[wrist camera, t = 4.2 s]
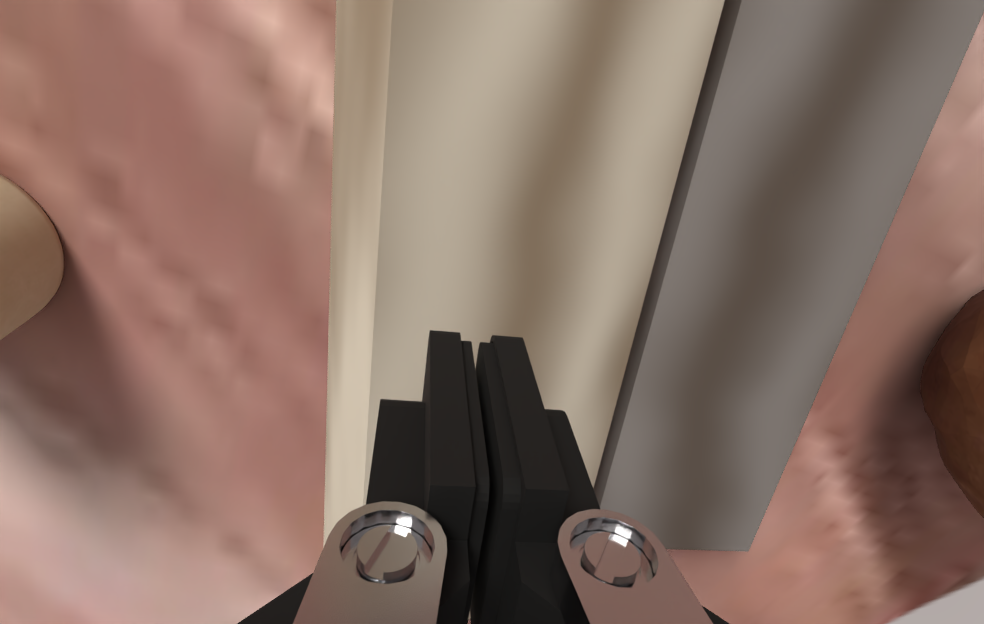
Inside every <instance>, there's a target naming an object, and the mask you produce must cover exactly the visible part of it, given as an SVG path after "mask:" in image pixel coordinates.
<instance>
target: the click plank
mask: <svg viewBox="0 0 984 624" xmlns="http://www.w3.org/2000/svg"><path fill="white" fill-rule="evenodd" d="M724 1H725V0H336V34H335V77H334V120H333V163H332V206H331V248H330V291H329V334H328V377H327V420H326V463H325V506H324V546H325V543H326V541H327V538H328V536H329V534H330V532H331V531H332V529H333V528H334V526H335V525H336V523H337V522H338V521H339V520H340V519H342V518H343V517H344V516H345V515H346V514H348V513H349V512H350V511H352V510H355V509H357V508H359V507H361V506H363V505H366V500H367V493H368V485H369V478H370V471H371V463H372V456H373V449H374V441H375V434H376V427H377V419H378V412H379V405H380V399H390V400H406V401H422V397H423V387H424V377H425V368H426V358H427V348H428V339H429V332H430V330H434V331H447V332H460V334H461V341H471V342H472V348H473V356H474V363H475V368H476V361H477V354H478V348H479V344H480V342H487V343H490V340H491V337H492V335H498V336H511V337H523V339H524V342H525V346H526V349H527V352H528V355H529V359H530V362H531V365H532V369H533V372H534V375H535V379H536V382H537V385H538V388H539V392H540V395H541V398H542V402H543V405H544V408H545V409H553V410H563V411H565V413H566V415H567V417H568V419H569V422H570V425H571V428H572V430H573V433H574V436H575V439H576V442H577V444H578V447H579V450H580V453H581V456H582V458H583V461H584V464H585V467H586V470H587V472H588V475H589V478H590V481H591V484H592V486H593V488H594V484H595V480H596V477H597V473H598V469H599V466H600V462H601V458H602V454H603V451H604V447H605V443H606V440H607V436H608V432H609V428H610V425H611V421H612V417H613V414H614V410H615V406H616V402H617V399H618V395H619V391H620V388H621V384H622V380H623V376H624V373H625V369H626V365H627V362H628V358H629V354H630V350H631V347H632V343H633V339H634V336H635V332H636V328H637V324H638V321H639V317H640V313H641V310H642V306H643V302H644V298H645V295H646V291H647V287H648V284H649V280H650V276H651V272H652V269H653V265H654V261H655V258H656V254H657V250H658V246H659V243H660V239H661V235H662V232H663V228H664V224H665V220H666V217H667V213H668V209H669V206H670V202H671V198H672V194H673V191H674V187H675V183H676V180H677V176H678V172H679V168H680V165H681V161H682V157H683V154H684V150H685V146H686V142H687V139H688V135H689V131H690V128H691V124H692V120H693V116H694V113H695V109H696V105H697V102H698V98H699V94H700V90H701V87H702V83H703V79H704V75H705V72H706V68H707V64H708V61H709V57H710V53H711V49H712V46H713V42H714V38H715V35H716V31H717V27H718V23H719V20H720V16H721V12H722V9H723V5H724ZM469 619H471V617H470V612H469V618H468V620H469Z"/></svg>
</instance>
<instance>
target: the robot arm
mask: <svg viewBox="0 0 984 624" xmlns="http://www.w3.org/2000/svg"><path fill="white" fill-rule="evenodd" d="M469 612H470V617H471V624H729V623H727V622H726V621H724V620H723V619H721V618H720V617H718V616H717V615H715V614H714V613H712V612H711V611H709V610H708V609H706V608H705V607H703V606H702V605H701V604H700V602H699V601H698V599H697V597H696V596H695V594H694V593H693V591H692V590H691V588H690V586H689V585H688V583H687V582H686V580H685V578H684V577H683V575H682V574H681V572H680V571H679V569H678V567H677V566H676V564H675V563H674V561H673V559H672V558H671V556H670V555H669V553H668V552H667V550H666V548H665V547H664V545H663V544H662V543H661V542H660V540H659V539H658V538H657V537H656V535H655V534H654V533H653V532H652V531H651V530H649V529H648V528H647V527H645V526H644V525H643V524H641V523H640V522H639V521H637V520H635V519H633V518H631V517H629V516H627V515H625V514H622V513H618V512H614V511H610V510H603V509H600V506H599V503H598V501H597V498H596V495H595V492H594V489H593V486H592V484H591V481H590V478H589V475H588V472H587V470H586V467H585V464H584V461H583V458H582V456H581V453H580V450H579V447H578V444H577V442H576V439H575V436H574V433H573V430H572V428H571V425H570V422H569V419H568V417H567V415H566V413H565V411H563V410H553V409H545V408H544V405H543V402H542V398H541V395H540V392H539V388H538V385H537V382H536V379H535V375H534V372H533V369H532V365H531V362H530V359H529V355H528V352H527V349H526V346H525V342H524V339H523V337H511V336H498V335H492V337H491V340H490V343H487V342H480V344H479V348H478V354H477V361H476V368H475V363H474V356H473V348H472V342H471V341H461V334H460V332H447V331H434V330H430V332H429V339H428V348H427V358H426V368H425V377H424V387H423V397H422V401H406V400H390V399H380V405H379V412H378V419H377V427H376V434H375V441H374V449H373V456H372V463H371V471H370V478H369V485H368V493H367V500H366V505H363V506H361V507H359V508H357V509H355V510H352V511H350V512H349V513H348V514H346V515H345V516H344V517H343V518H342V519H340V520H339V521H338V522H337V523H336V525H335V526H334V528H333V529H332V531H331V532H330V534H329V536H328V538H327V541H326V543H325V546H324V548H323V550H322V553H321V555H320V558H319V560H318V563H317V565H316V568H315V570H314V573H312V574H311V575H309V576H308V577H306V578H305V579H303V580H302V581H300V582H299V583H297V584H296V585H294V586H293V587H291V588H290V589H288V590H287V591H286V592H284V593H283V594H281V595H280V596H278V597H277V598H275V599H274V600H272V601H271V602H269V603H268V604H266V605H265V606H263V607H262V608H260V609H259V610H257V611H256V612H254V613H253V614H251V615H250V616H248V617H247V618H245V619H244V620H242V621H241V622H239V623H238V624H467V623H468V618H469Z"/></svg>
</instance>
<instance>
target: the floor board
mask: <svg viewBox="0 0 984 624" xmlns="http://www.w3.org/2000/svg"><path fill="white" fill-rule="evenodd" d="M983 12H984V0H725V1H724V5H723V9H722V12H721V16H720V20H719V23H718V27H717V31H716V35H715V38H714V42H713V46H712V49H711V53H710V57H709V61H708V64H707V68H706V72H705V75H704V79H703V83H702V87H701V90H700V94H699V98H698V102H697V105H696V109H695V113H694V116H693V120H692V124H691V128H690V131H689V135H688V139H687V142H686V146H685V150H684V154H683V157H682V161H681V165H680V168H679V172H678V176H677V180H676V183H675V187H674V191H673V194H672V198H671V202H670V206H669V209H668V213H667V217H666V220H665V224H664V228H663V232H662V235H661V239H660V243H659V246H658V250H657V254H656V258H655V261H654V265H653V269H652V272H651V276H650V280H649V284H648V287H647V291H646V295H645V298H644V302H643V306H642V310H641V313H640V317H639V321H638V324H637V328H636V332H635V336H634V339H633V343H632V347H631V350H630V354H629V358H628V362H627V365H626V369H625V373H624V376H623V380H622V384H621V388H620V391H619V395H618V399H617V402H616V406H615V410H614V414H613V417H612V421H611V425H610V428H609V432H608V436H607V440H606V443H605V447H604V451H603V454H602V458H601V462H600V466H599V469H598V473H597V477H596V480H595V484H594V488H593V489H594V492H595V495H596V498H597V501H598V503H599V506H600V509H603V510H610V511H614V512H618V513H622V514H625V515H627V516H629V517H631V518H633V519H635V520H637V521H639V522H640V523H641V524H643V525H644V526H645V527H647V528H648V529H649V530H651V531H652V532H653V533H654V534H655V535H656V537H657V538H658V539H659V540H660V542H661V543H662V544H663V545H664V547H665V548H666V549H685V550H718V551H749V549H750V546H751V544H752V542H753V539H754V537H755V535H756V533H757V530H758V528H759V526H760V523H761V521H762V519H763V517H764V514H765V512H766V510H767V507H768V505H769V503H770V501H771V498H772V496H773V494H774V491H775V489H776V487H777V484H778V482H779V480H780V478H781V475H782V473H783V471H784V468H785V466H786V464H787V462H788V459H789V457H790V455H791V452H792V450H793V448H794V445H795V443H796V441H797V439H798V436H799V434H800V432H801V429H802V427H803V425H804V423H805V420H806V418H807V416H808V413H809V411H810V409H811V407H812V404H813V402H814V400H815V397H816V395H817V393H818V390H819V388H820V386H821V384H822V381H823V379H824V377H825V374H826V372H827V370H828V368H829V365H830V363H831V361H832V358H833V356H834V354H835V352H836V349H837V347H838V345H839V342H840V340H841V338H842V335H843V333H844V331H845V329H846V326H847V324H848V322H849V319H850V317H851V315H852V313H853V310H854V308H855V306H856V303H857V301H858V299H859V296H860V294H861V292H862V290H863V287H864V285H865V283H866V280H867V278H868V276H869V274H870V271H871V269H872V267H873V264H874V262H875V260H876V258H877V255H878V253H879V251H880V248H881V246H882V244H883V241H884V239H885V237H886V235H887V232H888V230H889V228H890V225H891V223H892V221H893V219H894V216H895V214H896V212H897V209H898V207H899V205H900V202H901V200H902V198H903V196H904V193H905V191H906V189H907V186H908V184H909V182H910V180H911V177H912V175H913V173H914V170H915V168H916V166H917V164H918V161H919V159H920V157H921V154H922V152H923V150H924V147H925V145H926V143H927V141H928V138H929V136H930V134H931V131H932V129H933V127H934V125H935V122H936V120H937V118H938V115H939V113H940V111H941V109H942V106H943V104H944V102H945V99H946V97H947V95H948V92H949V90H950V88H951V86H952V83H953V81H954V79H955V76H956V74H957V72H958V70H959V67H960V65H961V63H962V60H963V58H964V56H965V53H966V51H967V49H968V47H969V44H970V42H971V40H972V37H973V35H974V33H975V31H976V28H977V26H978V24H979V21H980V19H981V17H982V15H983Z"/></svg>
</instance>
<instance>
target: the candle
mask: <svg viewBox="0 0 984 624" xmlns="http://www.w3.org/2000/svg"><path fill="white" fill-rule="evenodd" d="M63 271H64V256H63V250H62V246H61V243H60V240H59V237H58V234H57V232H56V230H55V228H54V226H53V224H52V223H51V221H50V219H49V218H48V216H47V215H46V213H45V212H44V211H43V210H42V208H41V207H40V206H39V205H38V204H37V203H36V202H35V201H34V200H33V199H32V198H31V196H30V195H28V194H27V193H26V192H25V191H24V190H23V189H21V188H20V187H19V186H18V185H16V184H15V183H13V182H12V181H10V180H9V179H7V178H6V177H4V176H2V175H0V340H1V339H3V338H4V337H5V336H7V335H8V334H10V333H11V332H12V331H14V330H15V329H17V328H18V327H19V326H21V325H22V324H24V323H25V322H26V321H28V320H29V319H30V318H31V317H33V316H34V315H35V314H37V313H38V312H39V311H40V310H42V309H43V308H44V307H45V306H46V305H47V304H48V302H49V301H50V300H51V299H52V297H53V296H54V295H55V294H56V292H57V290H58V288H59V286H60V284H61V280H62V277H63Z"/></svg>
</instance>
